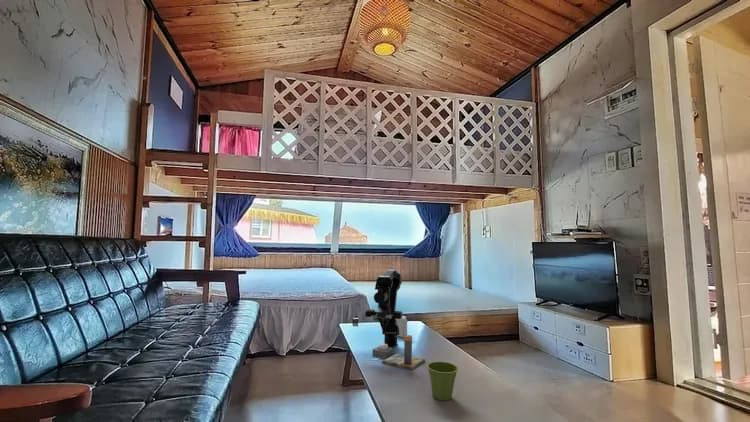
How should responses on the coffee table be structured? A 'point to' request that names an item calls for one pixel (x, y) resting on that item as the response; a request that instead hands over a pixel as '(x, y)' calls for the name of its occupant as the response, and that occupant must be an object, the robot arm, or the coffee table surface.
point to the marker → (408, 349)
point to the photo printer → (402, 326)
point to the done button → (383, 347)
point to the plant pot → (442, 379)
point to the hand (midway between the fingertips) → (383, 330)
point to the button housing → (383, 352)
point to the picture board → (399, 361)
